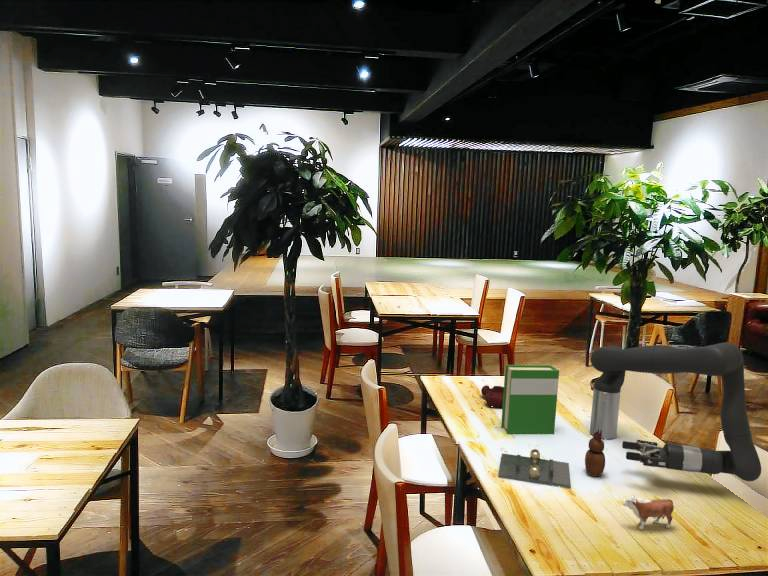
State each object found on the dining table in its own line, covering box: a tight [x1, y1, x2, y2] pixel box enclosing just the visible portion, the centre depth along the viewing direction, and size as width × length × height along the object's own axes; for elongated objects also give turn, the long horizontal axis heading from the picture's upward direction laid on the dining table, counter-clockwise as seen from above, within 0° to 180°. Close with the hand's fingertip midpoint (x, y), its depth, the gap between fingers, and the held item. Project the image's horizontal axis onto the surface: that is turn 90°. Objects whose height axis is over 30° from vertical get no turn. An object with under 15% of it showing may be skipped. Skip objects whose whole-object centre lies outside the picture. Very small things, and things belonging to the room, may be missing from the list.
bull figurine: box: [622, 495, 675, 531], centre depth 149 cm, size 4×13×8 cm, turn 95°
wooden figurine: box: [584, 429, 606, 477], centre depth 178 cm, size 7×6×15 cm
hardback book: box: [500, 364, 560, 435], centre depth 212 cm, size 18×7×24 cm, turn 96°
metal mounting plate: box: [497, 448, 572, 489], centre depth 179 cm, size 16×21×4 cm
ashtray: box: [480, 384, 504, 408], centre depth 244 cm, size 18×16×5 cm
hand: (624, 449), depth 176 cm, fingers open, 8 cm apart
